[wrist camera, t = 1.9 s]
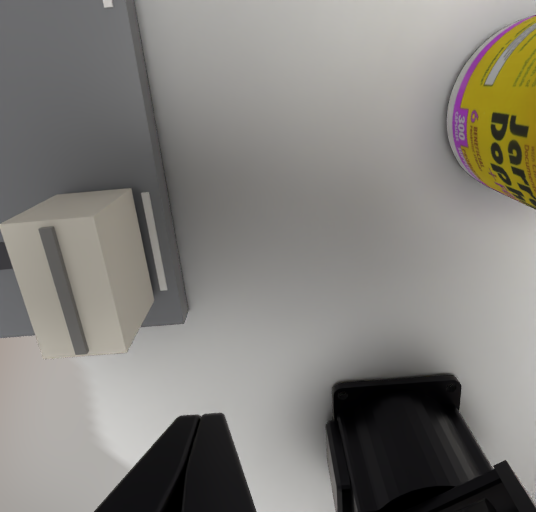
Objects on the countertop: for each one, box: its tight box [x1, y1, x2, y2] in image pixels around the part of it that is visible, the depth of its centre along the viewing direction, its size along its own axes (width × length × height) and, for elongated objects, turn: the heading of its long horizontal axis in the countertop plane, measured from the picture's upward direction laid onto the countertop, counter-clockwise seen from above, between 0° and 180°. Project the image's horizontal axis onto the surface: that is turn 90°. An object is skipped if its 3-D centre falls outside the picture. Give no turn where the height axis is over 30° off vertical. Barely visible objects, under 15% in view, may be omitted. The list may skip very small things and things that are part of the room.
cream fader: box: [0, 188, 154, 359], centre depth 16 cm, size 3×5×4 cm, turn 5°
